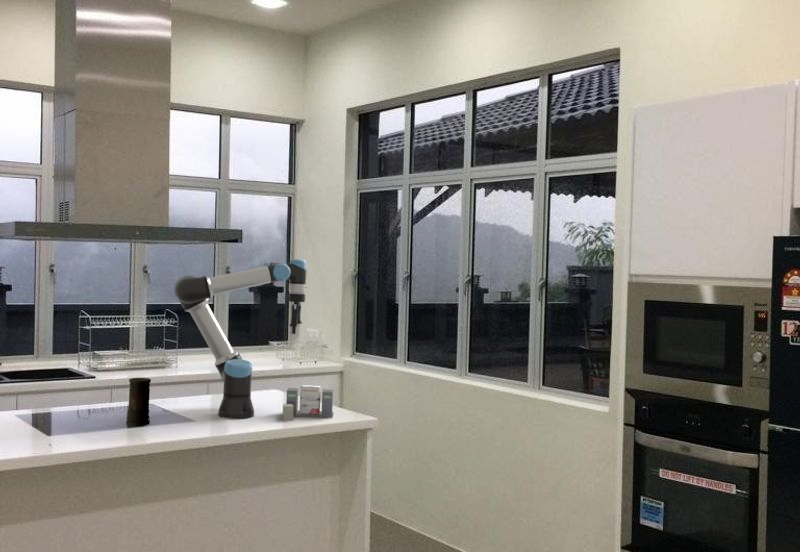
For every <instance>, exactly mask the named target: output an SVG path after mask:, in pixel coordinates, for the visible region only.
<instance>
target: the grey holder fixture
mask: <svg viewBox="0 0 800 552" xmlns="http://www.w3.org/2000/svg"><path fill="white" fill-rule="evenodd" d="M299 390H300V388H296V387H288V388H287V390H286V403H285V404H293V406H294V408H293V417H303V418H305V417H306V418H326V417H334V413H335V412H334V411H333V410H334V407H333V406H334V389H325V388H324V389H322V395H321V397H322V398H321V411H320V412H319V414H309V413H300V410H298V409H299Z"/></svg>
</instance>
